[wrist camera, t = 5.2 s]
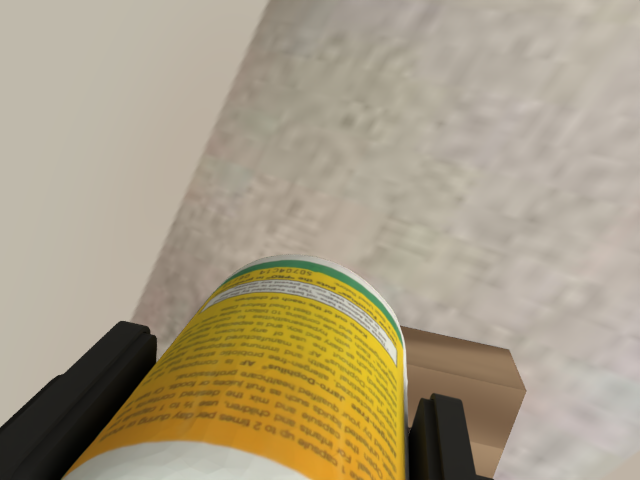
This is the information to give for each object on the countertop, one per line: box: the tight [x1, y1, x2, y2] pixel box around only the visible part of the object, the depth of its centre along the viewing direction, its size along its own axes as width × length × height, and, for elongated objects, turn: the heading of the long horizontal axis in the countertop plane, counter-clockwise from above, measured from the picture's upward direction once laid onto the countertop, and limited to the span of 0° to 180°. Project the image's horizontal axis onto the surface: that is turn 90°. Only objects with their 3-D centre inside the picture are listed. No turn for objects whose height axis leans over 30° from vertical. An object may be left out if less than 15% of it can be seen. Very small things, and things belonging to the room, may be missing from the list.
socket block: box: [400, 326, 526, 478], centre depth 27 cm, size 14×14×4 cm
